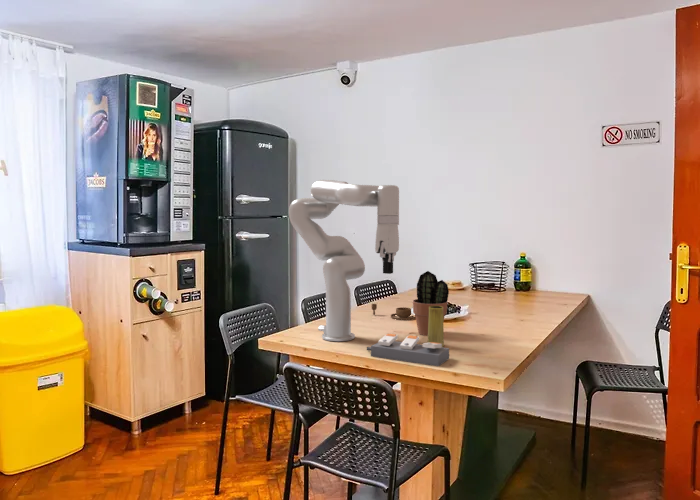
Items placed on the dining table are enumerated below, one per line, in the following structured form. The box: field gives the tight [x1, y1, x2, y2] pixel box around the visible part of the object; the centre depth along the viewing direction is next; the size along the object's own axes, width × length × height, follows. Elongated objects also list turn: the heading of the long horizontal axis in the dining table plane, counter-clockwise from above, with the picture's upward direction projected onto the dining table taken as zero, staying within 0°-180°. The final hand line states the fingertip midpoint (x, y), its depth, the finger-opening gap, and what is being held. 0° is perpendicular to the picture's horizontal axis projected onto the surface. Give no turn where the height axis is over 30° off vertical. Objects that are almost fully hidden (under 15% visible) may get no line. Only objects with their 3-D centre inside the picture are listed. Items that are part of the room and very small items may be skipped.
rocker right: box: [422, 342, 442, 348], centre depth 176 cm, size 4×7×1 cm, turn 150°
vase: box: [427, 306, 445, 348], centre depth 195 cm, size 6×6×14 cm
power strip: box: [366, 340, 450, 367], centre depth 181 cm, size 28×10×4 cm, turn 60°
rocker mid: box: [400, 334, 420, 350], centre depth 180 cm, size 4×7×1 cm, turn 150°
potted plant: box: [412, 270, 450, 337], centre depth 214 cm, size 14×14×25 cm
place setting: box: [371, 303, 416, 321], centre depth 250 cm, size 18×20×6 cm
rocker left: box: [377, 333, 399, 346], centre depth 184 cm, size 4×7×1 cm, turn 150°
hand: (388, 273), depth 189 cm, fingers closed
